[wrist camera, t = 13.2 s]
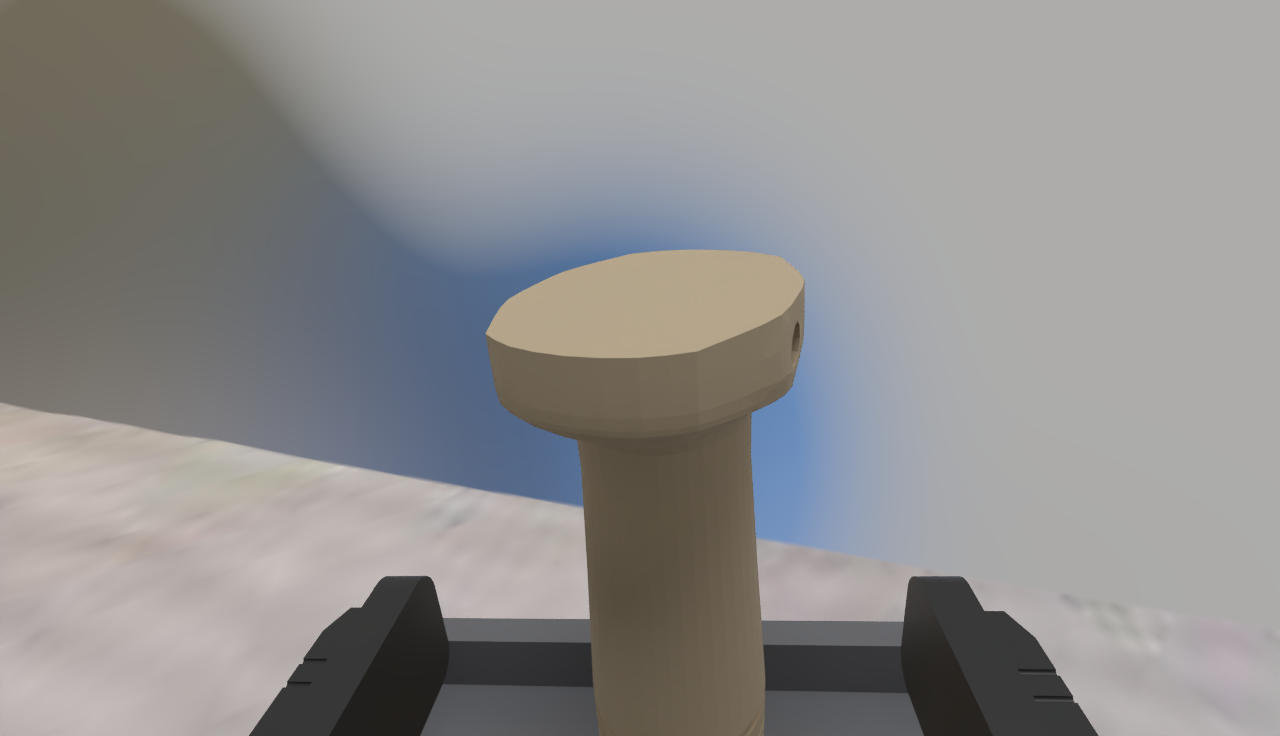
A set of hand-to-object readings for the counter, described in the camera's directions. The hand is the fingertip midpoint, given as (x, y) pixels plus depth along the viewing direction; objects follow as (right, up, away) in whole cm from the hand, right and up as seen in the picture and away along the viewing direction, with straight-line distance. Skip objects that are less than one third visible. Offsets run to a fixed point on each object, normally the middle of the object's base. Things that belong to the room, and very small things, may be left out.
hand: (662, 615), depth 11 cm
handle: (+1, -8, +6) cm, 10 cm away
